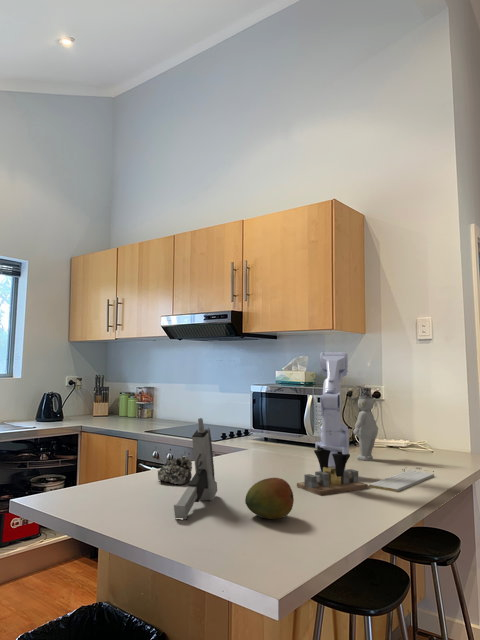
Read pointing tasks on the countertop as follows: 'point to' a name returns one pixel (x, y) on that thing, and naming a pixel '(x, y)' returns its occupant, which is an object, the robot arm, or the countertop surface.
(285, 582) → the countertop surface
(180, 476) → the rock
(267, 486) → the fruit
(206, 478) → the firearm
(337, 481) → the block
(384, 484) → the baseboard molding
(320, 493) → the shaft base
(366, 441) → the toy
